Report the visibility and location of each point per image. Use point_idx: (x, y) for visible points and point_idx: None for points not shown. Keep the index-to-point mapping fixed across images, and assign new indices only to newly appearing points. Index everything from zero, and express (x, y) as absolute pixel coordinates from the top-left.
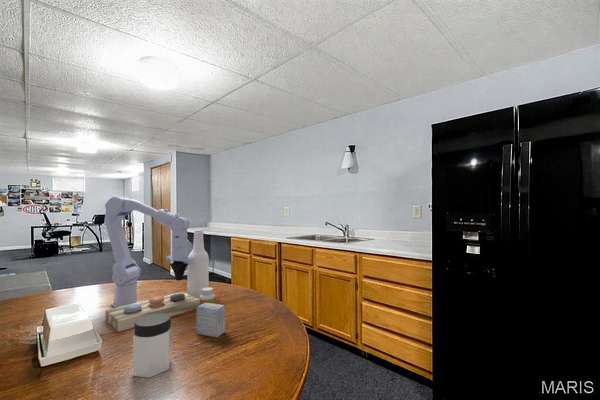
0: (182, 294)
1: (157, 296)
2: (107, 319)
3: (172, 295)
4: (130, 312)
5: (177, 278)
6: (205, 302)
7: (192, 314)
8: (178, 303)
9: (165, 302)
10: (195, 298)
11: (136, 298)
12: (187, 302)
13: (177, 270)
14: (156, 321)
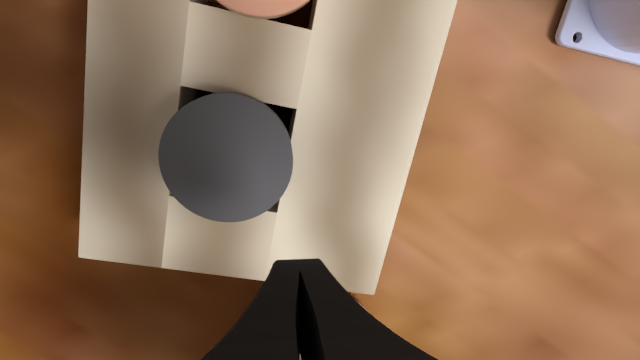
0: (219, 206)
1: None
2: None
3: (275, 138)
4: None
5: (276, 270)
6: None
7: (27, 115)
8: (116, 84)
9: (249, 40)
10: (120, 247)
11: (630, 28)
12: (84, 150)
13: (226, 352)
14: None
